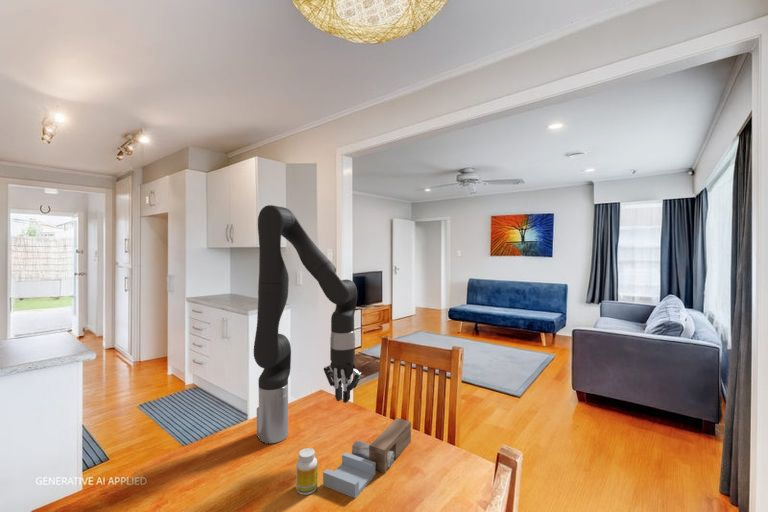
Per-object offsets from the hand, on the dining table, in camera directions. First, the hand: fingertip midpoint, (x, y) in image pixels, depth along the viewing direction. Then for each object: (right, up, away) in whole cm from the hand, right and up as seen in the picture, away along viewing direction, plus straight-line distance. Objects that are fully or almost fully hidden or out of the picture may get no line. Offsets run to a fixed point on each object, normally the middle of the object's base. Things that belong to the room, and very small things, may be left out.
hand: (342, 400), depth 108 cm
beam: (+15, -15, -2) cm, 21 cm away
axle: (+10, -15, -5) cm, 19 cm away
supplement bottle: (-7, -16, -17) cm, 24 cm away
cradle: (+4, -16, -14) cm, 21 cm away
